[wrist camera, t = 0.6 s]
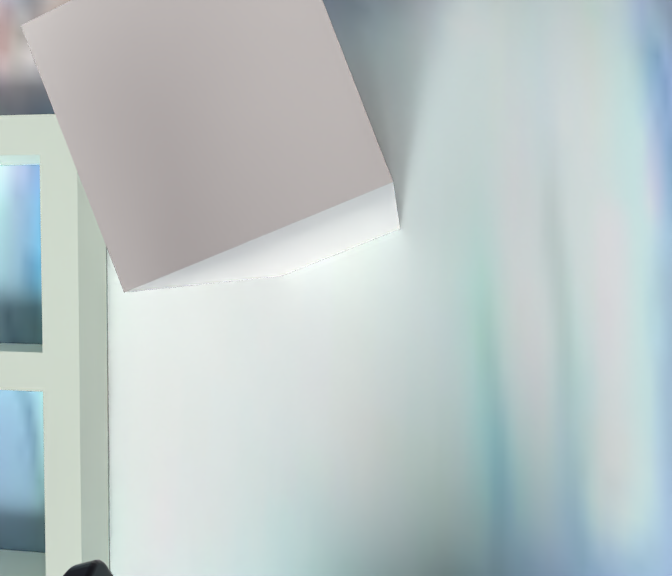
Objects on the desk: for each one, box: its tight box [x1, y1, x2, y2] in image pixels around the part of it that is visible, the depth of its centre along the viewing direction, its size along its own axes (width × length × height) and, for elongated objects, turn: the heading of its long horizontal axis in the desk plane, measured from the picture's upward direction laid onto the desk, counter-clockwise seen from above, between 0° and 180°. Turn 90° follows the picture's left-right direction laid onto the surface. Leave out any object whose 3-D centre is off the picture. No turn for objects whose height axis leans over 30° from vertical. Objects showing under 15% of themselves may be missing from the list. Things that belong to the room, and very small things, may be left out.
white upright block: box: [21, 0, 400, 292], centre depth 16 cm, size 5×5×12 cm
